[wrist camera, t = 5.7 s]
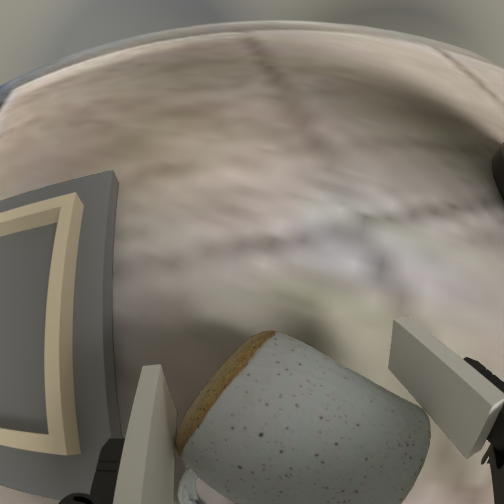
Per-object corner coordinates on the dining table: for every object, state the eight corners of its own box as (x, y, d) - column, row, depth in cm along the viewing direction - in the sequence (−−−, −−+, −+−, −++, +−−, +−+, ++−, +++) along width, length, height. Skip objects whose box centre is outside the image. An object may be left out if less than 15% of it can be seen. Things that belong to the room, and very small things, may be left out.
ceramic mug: (263, 340, 17) (272, 284, 10) (384, 413, 15) (466, 402, 8) (149, 484, 13) (82, 520, 6) (274, 559, 10) (290, 633, 4)
